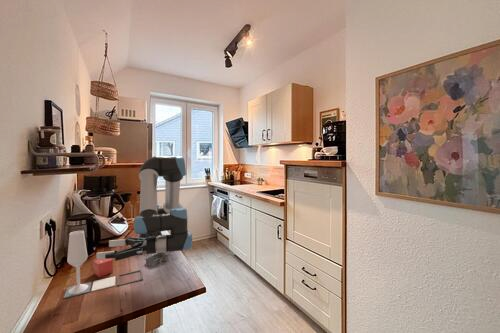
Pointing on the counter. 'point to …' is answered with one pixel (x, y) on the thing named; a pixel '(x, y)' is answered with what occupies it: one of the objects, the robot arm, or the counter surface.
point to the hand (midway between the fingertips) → (103, 249)
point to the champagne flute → (77, 257)
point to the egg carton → (156, 259)
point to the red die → (103, 267)
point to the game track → (101, 284)
